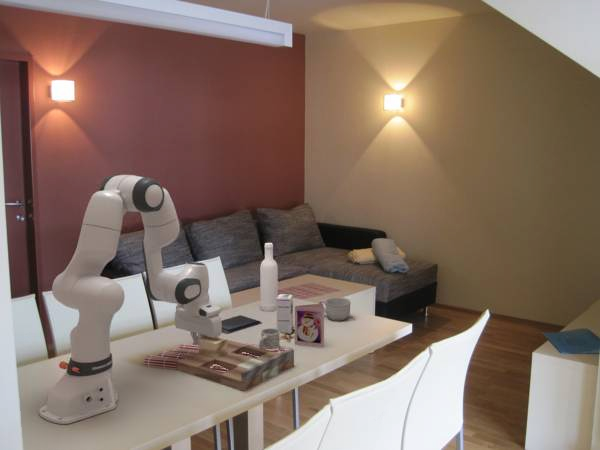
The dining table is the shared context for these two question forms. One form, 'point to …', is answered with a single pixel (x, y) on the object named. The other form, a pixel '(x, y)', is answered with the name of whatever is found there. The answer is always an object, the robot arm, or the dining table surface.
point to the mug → (269, 339)
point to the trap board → (238, 365)
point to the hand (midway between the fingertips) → (197, 344)
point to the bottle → (268, 280)
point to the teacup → (337, 308)
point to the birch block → (213, 346)
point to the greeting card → (309, 325)
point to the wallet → (238, 324)
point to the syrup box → (285, 313)
